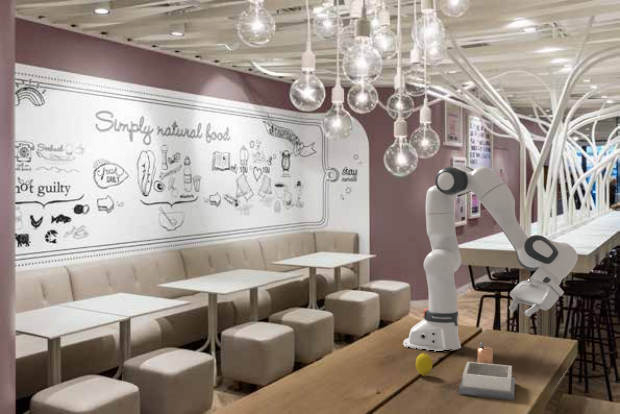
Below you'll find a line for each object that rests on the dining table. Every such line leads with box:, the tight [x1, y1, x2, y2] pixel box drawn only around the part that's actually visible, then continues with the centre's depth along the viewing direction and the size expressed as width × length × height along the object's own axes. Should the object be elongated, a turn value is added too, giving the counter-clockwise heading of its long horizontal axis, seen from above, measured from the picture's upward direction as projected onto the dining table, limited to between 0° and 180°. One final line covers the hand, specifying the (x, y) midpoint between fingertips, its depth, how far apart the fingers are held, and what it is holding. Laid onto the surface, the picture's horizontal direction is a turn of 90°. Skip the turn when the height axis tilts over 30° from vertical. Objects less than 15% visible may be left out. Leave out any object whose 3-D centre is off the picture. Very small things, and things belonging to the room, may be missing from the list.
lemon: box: [415, 352, 433, 377], centre depth 206 cm, size 6×6×8 cm
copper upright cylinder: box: [476, 342, 494, 364], centre depth 211 cm, size 5×5×10 cm
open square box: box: [458, 361, 516, 401], centre depth 193 cm, size 16×16×6 cm
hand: (518, 312), depth 213 cm, fingers open, 8 cm apart
